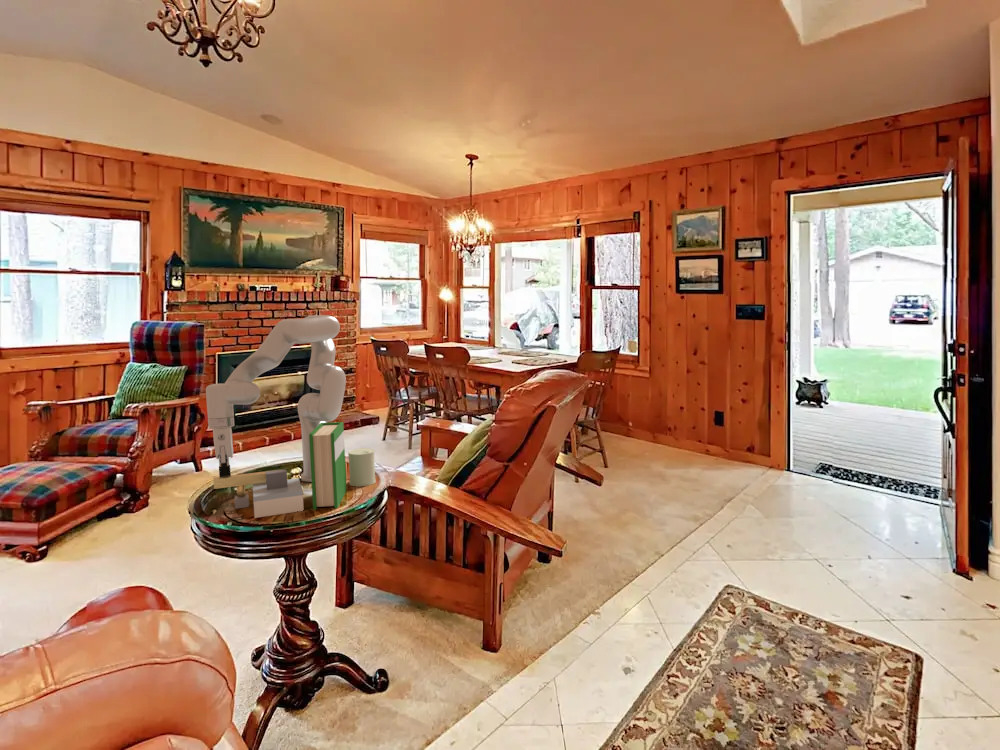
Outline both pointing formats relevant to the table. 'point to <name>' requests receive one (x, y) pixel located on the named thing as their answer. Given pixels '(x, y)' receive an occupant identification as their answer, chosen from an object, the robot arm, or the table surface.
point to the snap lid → (276, 487)
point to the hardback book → (327, 464)
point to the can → (361, 467)
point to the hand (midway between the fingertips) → (225, 477)
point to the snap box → (272, 505)
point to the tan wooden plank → (240, 481)
